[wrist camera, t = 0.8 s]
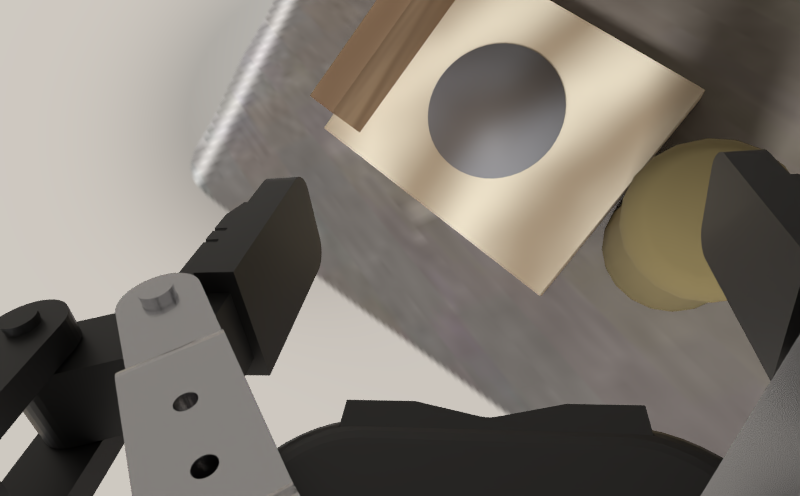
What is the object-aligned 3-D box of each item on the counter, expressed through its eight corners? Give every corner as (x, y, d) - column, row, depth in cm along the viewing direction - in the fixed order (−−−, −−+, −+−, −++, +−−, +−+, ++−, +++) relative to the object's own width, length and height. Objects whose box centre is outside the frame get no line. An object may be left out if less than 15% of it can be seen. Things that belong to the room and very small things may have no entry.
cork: (773, 259, 25) (897, 230, 15) (657, 337, 27) (698, 359, 16) (681, 158, 27) (736, 69, 17) (576, 235, 28) (566, 197, 18)
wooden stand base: (700, 98, 27) (721, 58, 23) (541, 295, 29) (531, 294, 24) (458, -43, 32) (436, -99, 27) (333, 133, 33) (293, 107, 29)
